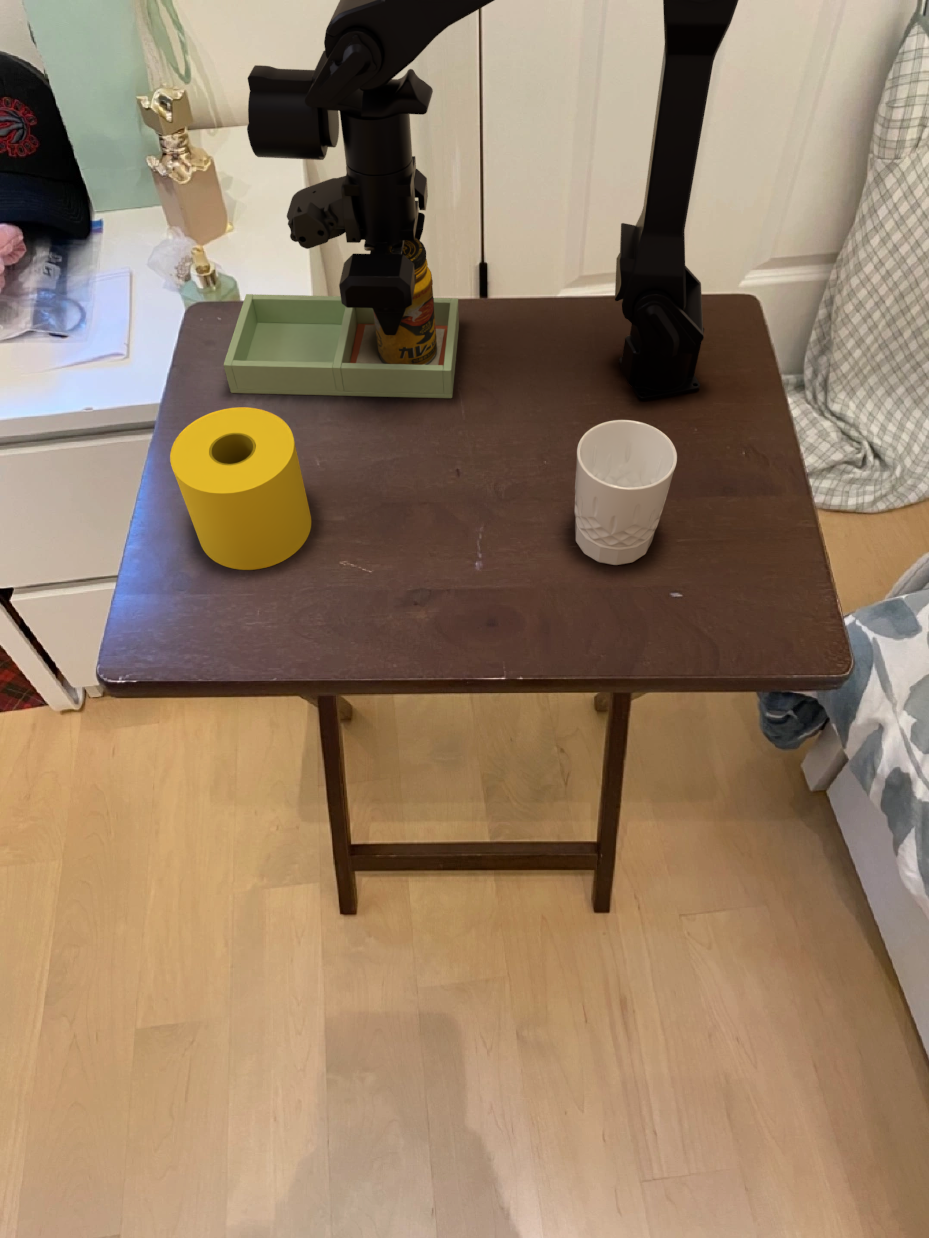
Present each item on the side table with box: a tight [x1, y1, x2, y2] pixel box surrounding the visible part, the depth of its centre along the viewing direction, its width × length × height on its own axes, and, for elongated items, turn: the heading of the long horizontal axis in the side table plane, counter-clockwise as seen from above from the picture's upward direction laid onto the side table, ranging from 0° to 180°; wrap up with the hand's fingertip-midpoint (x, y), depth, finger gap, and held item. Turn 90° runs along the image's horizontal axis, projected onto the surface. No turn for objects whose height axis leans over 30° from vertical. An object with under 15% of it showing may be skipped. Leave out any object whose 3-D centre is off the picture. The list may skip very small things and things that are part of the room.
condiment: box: [356, 238, 445, 365], centre depth 92 cm, size 7×8×12 cm
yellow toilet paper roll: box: [169, 406, 312, 571], centre depth 80 cm, size 10×10×9 cm
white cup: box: [574, 419, 678, 566], centre depth 78 cm, size 8×8×10 cm
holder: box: [222, 293, 460, 399], centre depth 96 cm, size 22×12×4 cm, turn 87°
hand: (393, 314), depth 93 cm, fingers closed on condiment, 6 cm apart
